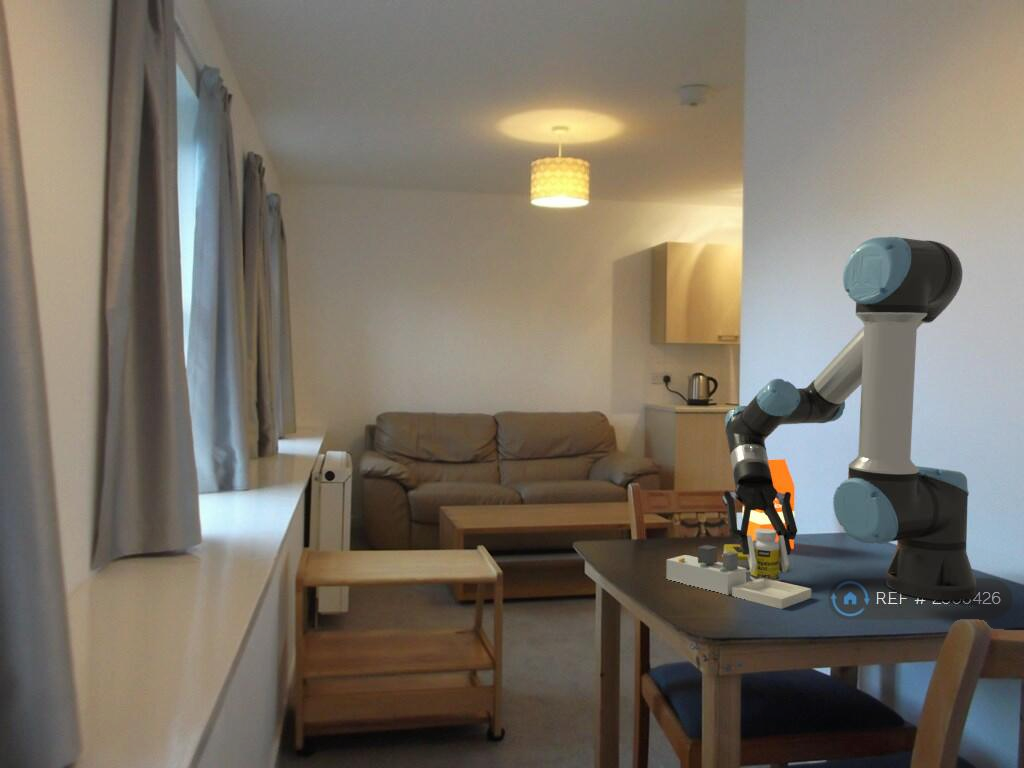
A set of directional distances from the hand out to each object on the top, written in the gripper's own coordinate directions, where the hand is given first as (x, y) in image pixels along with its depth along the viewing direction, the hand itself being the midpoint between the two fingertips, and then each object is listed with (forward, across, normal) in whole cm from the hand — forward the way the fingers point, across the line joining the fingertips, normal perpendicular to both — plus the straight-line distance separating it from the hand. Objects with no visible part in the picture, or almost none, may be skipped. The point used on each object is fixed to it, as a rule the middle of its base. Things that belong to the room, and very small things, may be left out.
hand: (769, 568), depth 161 cm
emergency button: (-9, 0, +15) cm, 18 cm away
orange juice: (-22, +8, +27) cm, 35 cm away
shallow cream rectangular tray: (+8, -2, -3) cm, 8 cm away
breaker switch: (0, -12, 0) cm, 12 cm away
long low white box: (+2, -12, +2) cm, 13 cm away
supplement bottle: (0, 0, +5) cm, 5 cm away
